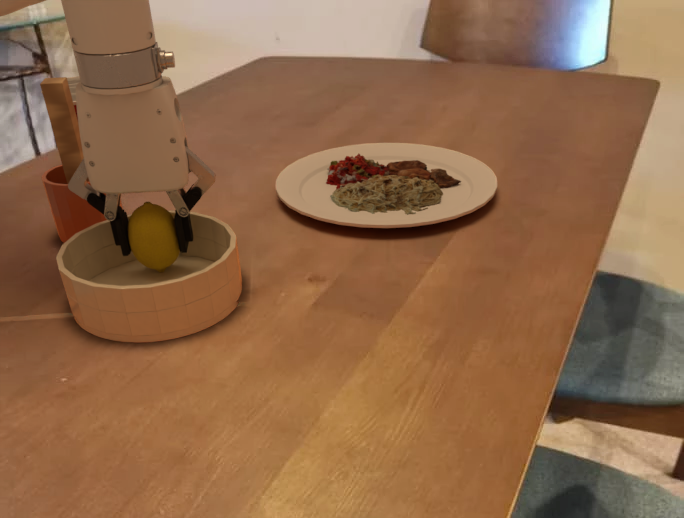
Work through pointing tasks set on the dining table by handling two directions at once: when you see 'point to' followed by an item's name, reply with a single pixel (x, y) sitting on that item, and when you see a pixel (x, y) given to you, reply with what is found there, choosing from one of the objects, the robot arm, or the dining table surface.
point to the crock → (68, 205)
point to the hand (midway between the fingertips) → (156, 247)
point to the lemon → (153, 236)
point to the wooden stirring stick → (63, 123)
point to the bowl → (151, 284)
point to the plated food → (386, 185)
